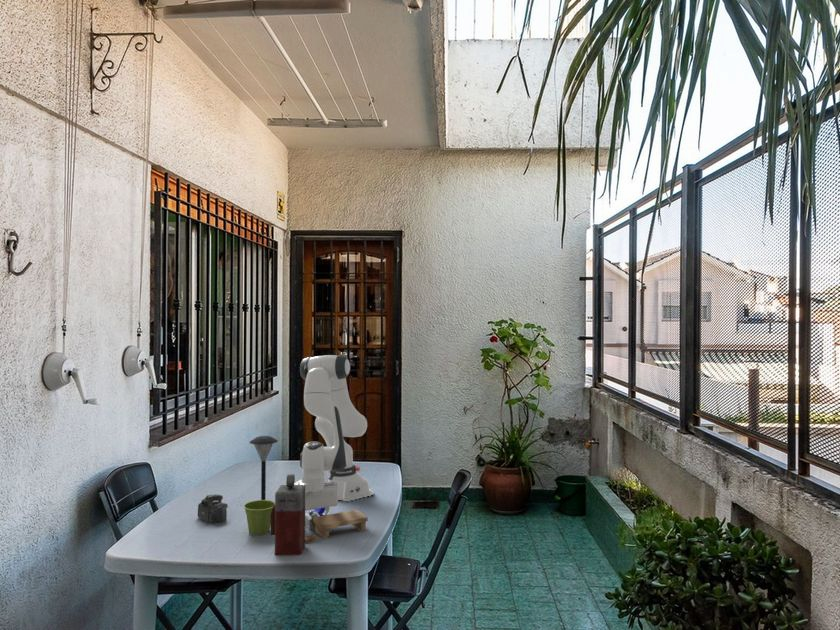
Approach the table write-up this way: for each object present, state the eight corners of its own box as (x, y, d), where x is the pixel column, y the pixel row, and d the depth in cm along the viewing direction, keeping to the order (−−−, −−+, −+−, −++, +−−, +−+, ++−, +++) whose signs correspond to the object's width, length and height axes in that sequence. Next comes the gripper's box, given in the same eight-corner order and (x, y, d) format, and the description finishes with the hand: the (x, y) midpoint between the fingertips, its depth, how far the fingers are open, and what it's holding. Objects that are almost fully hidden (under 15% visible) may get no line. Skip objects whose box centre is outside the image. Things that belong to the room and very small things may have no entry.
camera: (234, 518, 238) (234, 493, 238) (217, 526, 229) (217, 500, 229) (207, 514, 242) (207, 490, 242) (190, 521, 233) (190, 497, 233)
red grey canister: (272, 550, 205) (273, 471, 205) (305, 550, 205) (305, 471, 205) (267, 561, 196) (268, 478, 196) (301, 560, 196) (301, 478, 197)
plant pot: (258, 542, 212) (258, 511, 212) (236, 536, 218) (236, 506, 218) (282, 532, 222) (282, 503, 222) (260, 526, 228) (260, 497, 228)
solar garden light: (270, 512, 245) (270, 441, 245) (243, 510, 247) (243, 439, 247) (282, 503, 257) (283, 435, 257) (256, 501, 259) (257, 434, 259)
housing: (315, 524, 232) (315, 509, 232) (322, 530, 225) (322, 515, 225) (303, 526, 229) (303, 511, 229) (309, 533, 222) (309, 517, 222)
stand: (356, 524, 231) (356, 509, 231) (367, 533, 222) (367, 517, 222) (313, 533, 222) (313, 517, 222) (322, 542, 213) (322, 525, 213)
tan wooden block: (313, 542, 213) (314, 534, 213) (317, 544, 211) (318, 536, 211) (301, 545, 210) (301, 537, 210) (305, 548, 208) (305, 539, 208)
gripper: (335, 479, 235) (334, 513, 234) (285, 486, 224) (284, 522, 224) (341, 483, 229) (340, 518, 229) (290, 490, 219) (289, 527, 219)
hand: (312, 520), depth 227 cm, fingers open, 8 cm apart
